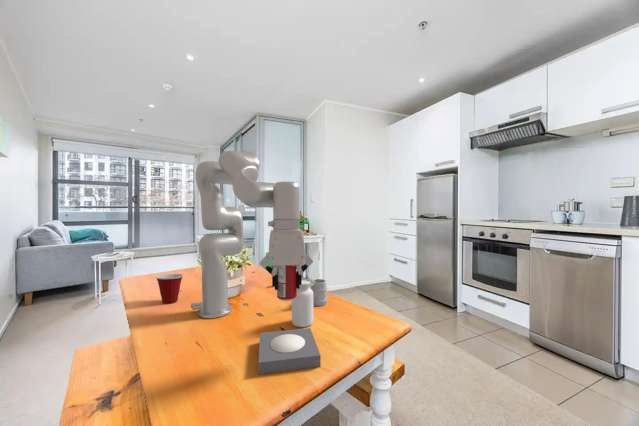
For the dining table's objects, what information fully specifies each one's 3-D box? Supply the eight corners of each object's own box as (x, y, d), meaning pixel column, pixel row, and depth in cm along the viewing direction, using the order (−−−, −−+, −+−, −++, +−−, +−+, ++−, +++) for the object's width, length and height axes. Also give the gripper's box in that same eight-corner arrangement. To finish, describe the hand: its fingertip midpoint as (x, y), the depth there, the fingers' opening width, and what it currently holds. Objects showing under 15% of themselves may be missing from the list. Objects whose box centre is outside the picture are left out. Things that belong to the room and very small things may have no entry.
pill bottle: (316, 319, 99) (316, 280, 98) (308, 329, 91) (308, 286, 91) (297, 317, 101) (296, 278, 101) (287, 326, 94) (287, 284, 93)
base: (258, 374, 67) (258, 361, 67) (259, 342, 83) (259, 332, 82) (320, 366, 70) (320, 354, 70) (310, 337, 86) (310, 327, 86)
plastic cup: (189, 298, 123) (188, 272, 123) (172, 306, 112) (172, 278, 112) (168, 296, 125) (168, 271, 125) (150, 305, 114) (149, 277, 114)
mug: (331, 303, 116) (331, 276, 115) (310, 310, 108) (310, 281, 107) (319, 298, 121) (319, 272, 121) (299, 305, 113) (299, 277, 113)
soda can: (298, 295, 78) (298, 255, 78) (293, 302, 73) (293, 258, 72) (281, 294, 79) (280, 254, 79) (274, 300, 74) (274, 257, 73)
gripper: (255, 226, 70) (255, 294, 70) (318, 225, 73) (318, 290, 74) (256, 224, 77) (256, 286, 78) (313, 223, 81) (313, 282, 81)
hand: (286, 287), depth 76 cm, fingers closed on soda can, 5 cm apart
